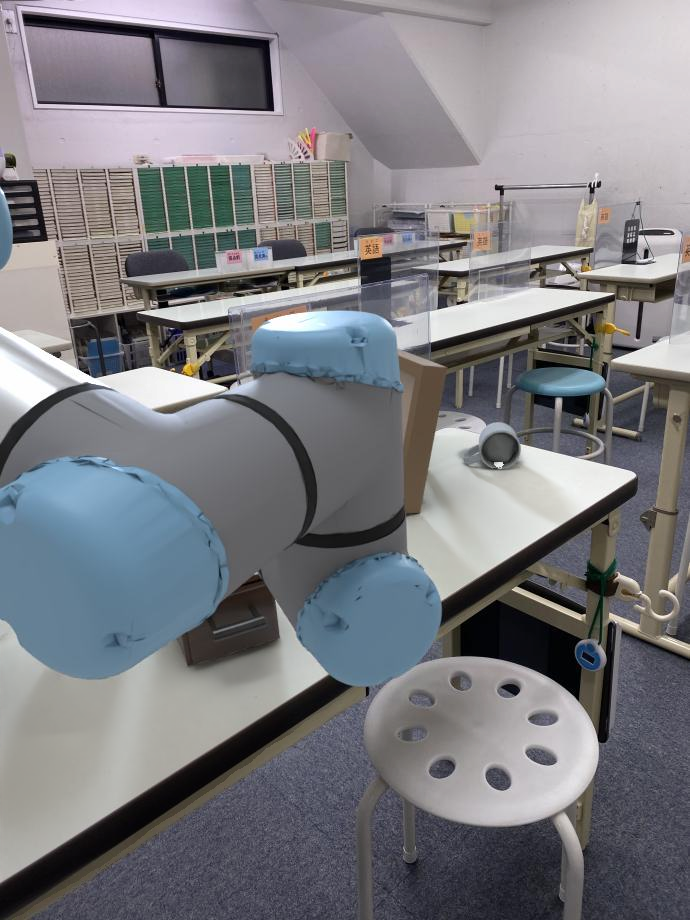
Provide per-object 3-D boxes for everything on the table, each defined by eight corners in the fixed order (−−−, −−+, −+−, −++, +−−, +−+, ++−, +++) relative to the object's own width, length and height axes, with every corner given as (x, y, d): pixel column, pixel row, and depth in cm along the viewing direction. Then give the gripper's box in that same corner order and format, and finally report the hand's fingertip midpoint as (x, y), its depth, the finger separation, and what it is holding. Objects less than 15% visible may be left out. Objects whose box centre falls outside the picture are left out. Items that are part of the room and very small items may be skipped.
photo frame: (397, 518, 113) (390, 371, 104) (346, 475, 132) (337, 346, 123) (474, 499, 118) (474, 356, 109) (414, 459, 137) (410, 335, 128)
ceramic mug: (515, 453, 136) (515, 416, 133) (521, 469, 128) (521, 430, 126) (461, 455, 137) (460, 419, 135) (463, 471, 130) (462, 433, 127)
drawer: (289, 656, 80) (282, 599, 77) (201, 685, 76) (191, 626, 73) (248, 590, 94) (241, 539, 91) (172, 612, 90) (163, 560, 87)
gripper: (116, 617, 45) (87, 500, 63) (439, 526, 54) (333, 447, 72) (93, 515, 42) (70, 424, 61) (438, 437, 52) (328, 378, 70)
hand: (213, 436), depth 67 cm, fingers open, 13 cm apart
